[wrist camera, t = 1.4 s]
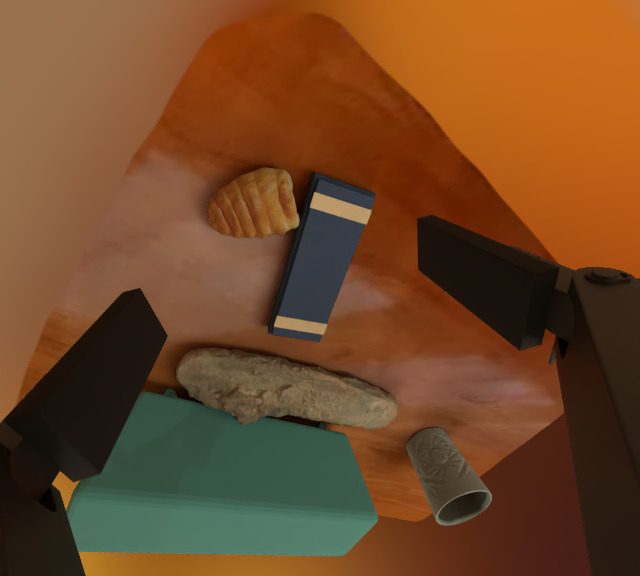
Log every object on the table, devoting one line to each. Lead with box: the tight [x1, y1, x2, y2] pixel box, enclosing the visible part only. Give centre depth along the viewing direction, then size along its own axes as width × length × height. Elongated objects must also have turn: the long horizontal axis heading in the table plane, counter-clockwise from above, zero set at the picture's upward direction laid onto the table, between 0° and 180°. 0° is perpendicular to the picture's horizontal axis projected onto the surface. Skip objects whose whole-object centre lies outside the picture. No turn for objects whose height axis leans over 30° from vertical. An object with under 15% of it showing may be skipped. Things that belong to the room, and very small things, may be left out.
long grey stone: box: [176, 348, 399, 430], centre depth 42 cm, size 35×5×10 cm
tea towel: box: [268, 172, 376, 342], centre depth 34 cm, size 20×7×3 cm, turn 161°
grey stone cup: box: [407, 427, 492, 525], centre depth 52 cm, size 10×10×12 cm
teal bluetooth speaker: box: [66, 388, 378, 556], centre depth 38 cm, size 34×10×15 cm, turn 60°
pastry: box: [206, 167, 300, 238], centre depth 29 cm, size 9×7×4 cm
